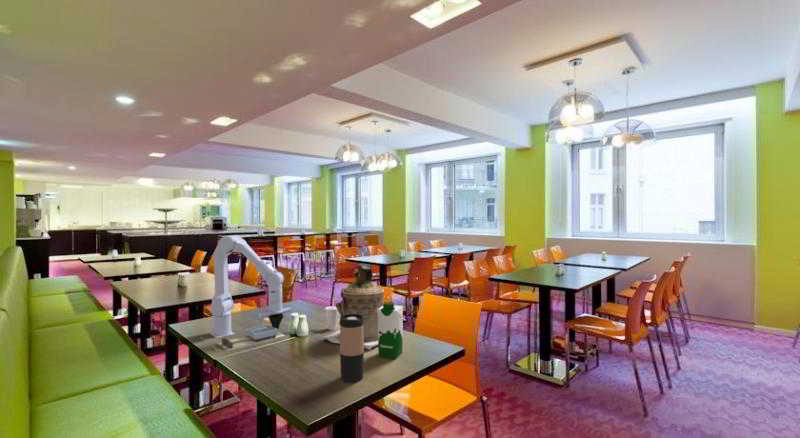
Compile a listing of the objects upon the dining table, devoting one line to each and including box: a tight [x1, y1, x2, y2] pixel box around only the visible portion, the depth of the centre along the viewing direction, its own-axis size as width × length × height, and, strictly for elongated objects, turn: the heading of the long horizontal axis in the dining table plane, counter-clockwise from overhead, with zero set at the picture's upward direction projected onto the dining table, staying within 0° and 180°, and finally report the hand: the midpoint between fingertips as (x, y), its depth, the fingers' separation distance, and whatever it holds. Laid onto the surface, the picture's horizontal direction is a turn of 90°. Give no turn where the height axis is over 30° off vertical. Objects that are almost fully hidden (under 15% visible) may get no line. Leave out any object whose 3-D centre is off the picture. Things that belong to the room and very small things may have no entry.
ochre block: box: [262, 317, 272, 326], centre depth 181 cm, size 5×5×5 cm
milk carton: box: [377, 301, 404, 360], centre depth 148 cm, size 9×9×20 cm
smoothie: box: [324, 298, 339, 331], centre depth 181 cm, size 6×6×14 cm
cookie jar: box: [322, 264, 385, 351], centre depth 168 cm, size 25×25×32 cm
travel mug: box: [339, 314, 365, 384], centre depth 127 cm, size 8×8×20 cm
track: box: [216, 331, 288, 352], centre depth 165 cm, size 13×25×2 cm, turn 133°
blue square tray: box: [245, 325, 279, 342], centre depth 168 cm, size 10×10×3 cm
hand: (275, 331), depth 172 cm, fingers closed
